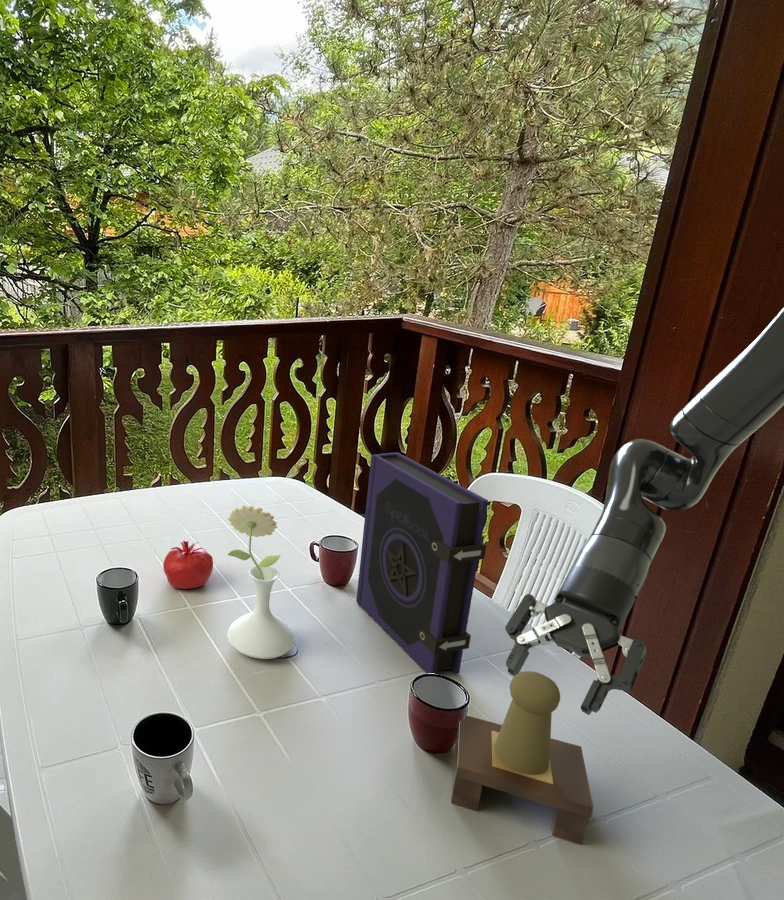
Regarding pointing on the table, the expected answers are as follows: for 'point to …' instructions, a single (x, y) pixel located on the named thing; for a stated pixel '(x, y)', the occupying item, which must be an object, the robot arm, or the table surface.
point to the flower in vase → (259, 594)
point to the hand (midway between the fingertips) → (546, 692)
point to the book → (420, 559)
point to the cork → (528, 723)
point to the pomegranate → (188, 566)
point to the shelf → (522, 778)
